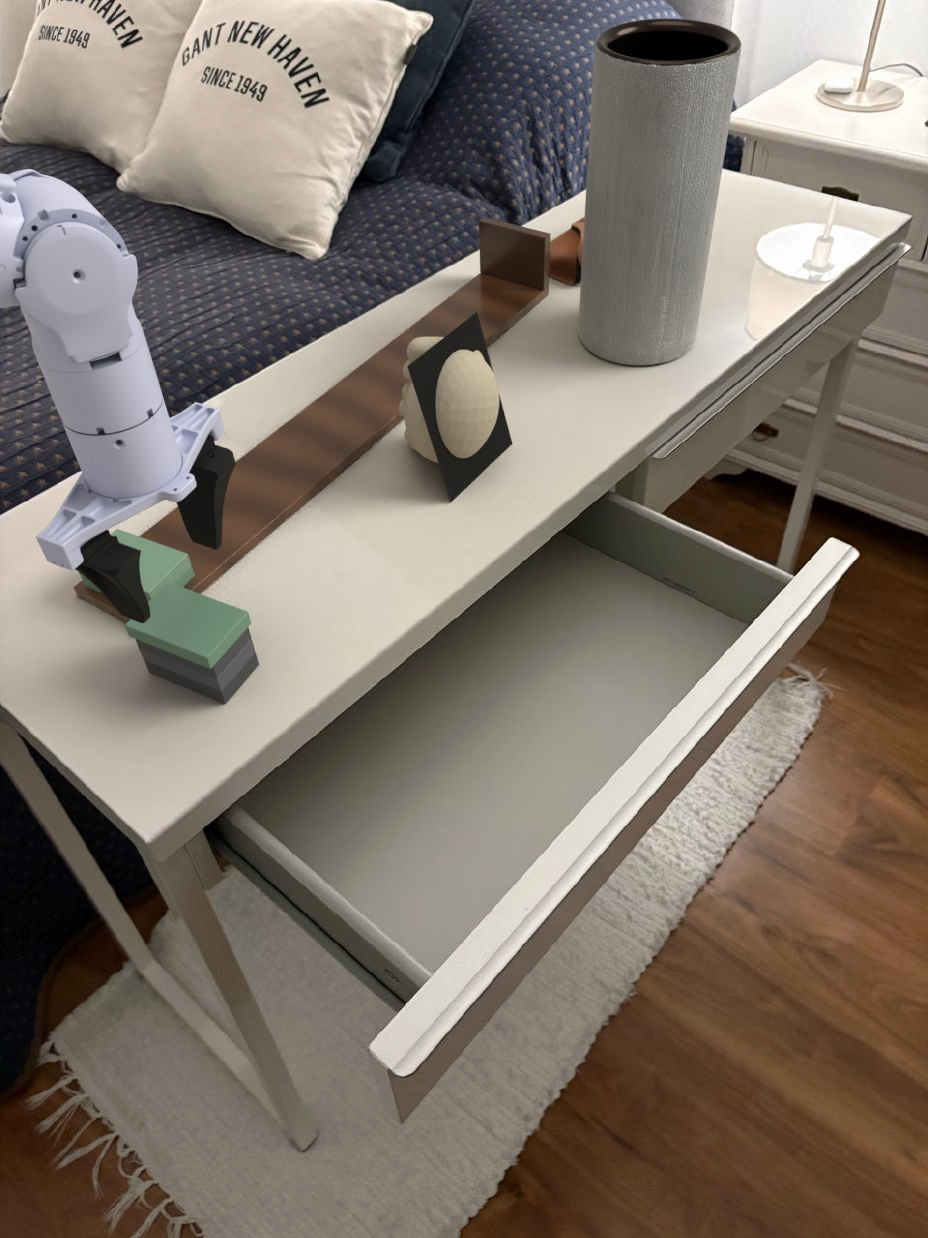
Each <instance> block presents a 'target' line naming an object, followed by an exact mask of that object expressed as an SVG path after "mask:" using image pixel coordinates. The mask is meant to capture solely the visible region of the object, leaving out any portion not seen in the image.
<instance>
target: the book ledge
mask: <svg viewBox="0 0 928 1238" xmlns="http://www.w3.org/2000/svg"><path fill="white" fill-rule="evenodd" d="M478 234H479V235H478V237H479V238H478V239H479V240H478V241H479V273H478V274H476V276H474V277H473V278H472V279H470V280H469V281H467V282H466V283H465V284H464V285H462V286H461V287H460V288H458V289H457V290H456V291H454V293H452V294H451V295H450V296H449V297H447V298H446V299H445V300H443V301H442V302H440V303H439V304H438V305H437V306H435V307H434V308H432V310H431V311H429V312H428V313H426V314H425V315H424V316H422V317H421V318H419V319H418V320H417V321H415V322H414V323H413V324H412V325H411V326H409V327H408V328H407V329H406V330H404V331H403V332H402V333H400V334H399V335H398V336H396V337H395V338H394V339H393V340H391V341H389V343H388V344H386V345H384V347H382V348H381V349H379V350H378V351H377V352H375V353H374V354H373V355H372V356H371V357H369V358H368V359H367V360H365V361H364V362H363V363H361V364H360V365H359V366H358V367H356V368H355V369H354V370H352V371H351V372H350V373H349V374H348V375H346V376H345V377H343V378H342V379H341V380H340V381H338V382H337V383H336V384H334V385H333V386H332V387H330V388H329V389H328V390H327V391H325V392H324V393H323V394H321V395H320V396H318V397H317V398H316V399H315V400H313V401H312V402H311V403H310V404H308V405H307V406H306V407H304V408H303V409H302V410H301V411H300V412H298V413H297V414H295V415H294V416H293V417H292V418H290V419H289V420H288V421H286V422H285V423H284V424H283V425H281V426H280V427H279V428H277V429H276V430H275V431H274V432H272V433H271V434H269V435H268V436H267V437H265V439H263V440H262V441H261V442H259V443H258V444H257V445H255V446H254V447H252V448H251V449H250V450H249V451H248V452H246V453H245V454H244V455H242V456H241V457H240V458H238V459H237V460H235V463H236V465H235V467H234V469H233V472H232V474H231V477H230V479H229V483H228V486H227V490H226V494H225V500H224V507H223V523H222V544H221V546H220V547H219V548H218V549H217V550H215V549H212V548H209V547H206V546H203V545H200V544H197V543H195V542H193V541H192V539H191V538H190V536H189V534H188V532H187V530H186V528H185V525H184V522H183V519H182V517H181V514H180V511H179V508H178V506H176V507H175V508H174V509H172V510H171V511H170V512H169V513H167V514H166V515H165V516H164V517H162V518H161V519H159V521H157V522H155V523H154V524H153V525H151V527H149V528H147V529H146V531H144V532H143V533H141V534H140V535H138V536H139V537H142V538H144V539H147V540H150V541H153V542H156V543H158V544H161V545H164V546H167V547H170V548H173V549H175V550H178V551H181V552H184V553H187V554H188V556H189V559H190V562H191V565H192V568H193V571H194V574H195V576H194V577H193V578H192V579H191V580H190V581H189V582H188V583H187V584H186V585H185V586H184V587H183V588H185V589H188V590H191V591H194V592H196V593H199V594H202V593H203V592H204V591H205V590H206V589H208V588H209V587H210V586H211V585H212V584H213V583H214V582H216V581H217V580H218V579H219V578H220V577H222V575H224V574H225V573H226V572H228V571H229V570H230V569H231V568H232V567H233V566H235V565H236V564H237V563H238V562H240V560H242V558H244V557H245V556H246V555H248V554H249V552H251V551H252V550H253V549H254V548H255V547H257V546H258V545H259V544H260V543H261V542H263V540H265V539H266V538H267V537H268V536H270V534H271V533H273V532H275V530H277V528H279V527H280V526H281V525H283V523H285V521H287V520H288V519H289V518H291V516H293V515H295V513H296V512H297V511H298V510H299V509H300V508H302V507H304V505H306V503H308V502H309V501H310V500H311V499H313V498H314V497H315V496H317V494H318V493H319V492H321V491H322V490H323V489H324V488H326V487H327V485H329V484H330V483H331V482H332V481H333V480H335V479H336V478H337V477H338V476H339V475H340V474H341V473H343V472H344V470H347V468H348V467H350V466H351V465H352V464H353V463H355V462H356V461H357V460H358V459H359V458H360V457H362V455H364V454H365V453H366V452H367V451H368V450H369V449H370V448H372V447H373V446H374V445H375V444H376V443H378V441H380V440H381V439H382V438H383V437H385V436H386V435H387V434H388V433H389V432H390V431H391V430H392V429H395V427H396V426H397V425H398V424H400V423H401V422H402V421H403V420H405V418H404V417H402V416H401V414H400V412H399V405H400V402H401V401H402V399H403V397H402V389H403V387H404V386H405V385H406V384H407V383H409V382H410V381H408V380H407V379H406V378H405V377H404V374H403V368H404V365H405V363H406V362H407V361H408V360H409V358H408V356H407V347H408V345H409V343H410V342H411V341H412V340H413V339H415V338H418V337H445V336H447V335H448V334H449V333H450V332H452V331H453V330H454V329H455V328H457V327H458V326H459V325H461V324H462V323H463V322H464V321H466V320H467V319H468V318H469V317H471V316H472V315H473V314H475V313H476V312H477V313H478V317H479V320H480V324H481V328H482V332H483V335H484V339H485V343H486V347H487V348H489V346H490V345H491V344H493V343H494V342H495V341H497V339H499V338H500V337H501V336H502V335H504V333H506V332H507V331H508V330H509V329H510V328H511V327H513V326H514V325H515V324H516V323H517V322H518V321H520V320H521V319H522V318H523V317H524V316H526V314H528V313H529V312H531V310H532V309H533V308H535V307H536V306H537V305H539V304H540V303H541V301H543V300H544V299H545V298H546V297H548V296H549V294H550V277H549V266H550V242H551V233H549V232H546V231H542V230H537V229H533V228H529V227H525V226H522V225H517V224H514V223H510V222H506V221H502V220H498V219H493V218H490V217H486V216H485V217H482V218H481V219H480V220H478ZM73 590H74V592H75V594H76V596H77V597H79V598H81V599H82V600H84V601H86V602H88V603H89V604H92V605H93V606H95V607H97V608H99V609H101V610H103V611H104V612H106V613H108V614H110V615H112V616H113V617H115V618H117V619H118V620H121V621H122V622H124V623H125V624H126V623H127V622H128V621H129V620H130V618H127V617H125V616H122V615H120V613H119V612H118V611H117V609H116V608H115V607H114V606H113V604H112V603H111V602H110V601H109V600H108V598H107V597H106V596H105V595H104V594H102V593H99V592H97V591H94V590H91V589H89V588H86V587H85V585H84V583H83V580H82V579H81V581H79V582H78V583H77V584H75V585H74V586H73Z"/></svg>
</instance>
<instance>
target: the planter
mask: <svg viewBox="0 0 928 1238" xmlns="http://www.w3.org/2000/svg"><path fill="white" fill-rule="evenodd" d="M593 48H594V49H593V50H594V51H593V65H592V67H593V68H592V82H591V83H592V84H591V99H590V117H589V118H590V119H589V133H588V134H589V135H588V151H587V152H588V153H587V168H586V169H587V170H586V186H585V200H584V201H585V202H584V217H585V218H584V235H583V252H582V269H581V281H580V286H579V287H580V288H579V304H578V337H579V340H580V342H581V344H582V345H583V347H585V348H586V350H588V351H589V352H590V353H592V354H593V355H595V356H597V357H599V358H601V359H603V360H606V361H608V362H612V363H617V364H621V365H626V366H627V365H628V366H653V365H658V364H664V363H668V362H671V361H674V360H676V359H678V358H680V357H682V356H683V355H685V354H686V353H687V352H688V351H689V350H690V349H691V348H692V347H693V346H694V343H695V340H696V335H697V331H698V327H699V321H700V313H701V308H702V302H703V295H704V289H705V282H706V276H707V275H706V274H707V268H708V263H709V257H710V256H709V255H710V250H711V243H712V237H713V230H714V226H715V225H714V224H715V219H716V218H715V217H716V212H717V206H718V198H719V192H720V186H721V180H722V172H723V168H724V161H725V155H726V149H727V141H728V136H729V129H730V124H731V123H730V122H731V117H732V112H733V111H732V109H733V103H734V98H735V97H734V96H735V93H736V92H735V91H736V86H737V85H736V84H737V78H738V71H739V64H740V59H741V52H742V42H741V39H740V38H739V36H738V35H737V34H736V33H735V32H733V31H732V30H730V29H728V28H726V27H723V26H721V25H719V24H715V23H711V22H707V21H702V20H694V19H686V18H648V19H638V20H633V21H628V22H623V23H620V24H619V23H618V24H617V25H614V26H612V27H609V28H607V29H605V30H603V31H602V32H601V33H600V34H599V35H598V36H597V38H596V39H595V41H594V47H593Z"/></svg>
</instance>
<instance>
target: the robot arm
mask: <svg viewBox="0 0 928 1238" xmlns="http://www.w3.org/2000/svg"><path fill="white" fill-rule="evenodd" d="M138 268H139V267H138V261H137V257H136V256H135V255H134V254H131V253H130V252H129V250H128V247H127V245H126V242H125V240H124V239H123V238H122V236H121V234H120V232H118V231H117V230H116V229H115V227H114V226H113V225H112V224H111V223H110V222H109V221H108V220H107V219H106V218H105V217H104V215H102V213H100V211H98V210H97V209H96V208H95V206H94V205H92V204H91V202H90V201H89V200H88V199H87V198H86V197H85V196H84V195H83V194H82V193H81V192H80V191H78V190H77V189H76V188H74V187H73V186H71V185H70V184H68V183H66V182H65V181H64V180H61V179H60V178H56V177H53V176H51V175H47V174H42V173H40V172H38V171H36V170H34V169H32V168H26V169H21V170H17V171H14V172H10V173H8V174H7V173H2V172H1V173H0V309H6V308H10V307H19V308H20V310H21V313H22V315H23V317H24V320H25V322H26V325H27V327H28V330H29V332H30V335H31V347H32V351H33V353H34V356H35V359H36V361H37V363H38V366H39V368H40V371H41V374H42V376H43V378H44V381H45V384H46V386H47V388H48V390H49V391H48V392H49V393H50V396H51V399H52V401H53V403H54V405H55V408H56V411H57V413H58V415H59V418H60V421H61V424H62V427H63V428H64V431H65V433H66V436H67V438H68V440H69V443H70V446H71V448H72V451H73V453H74V456H75V458H76V461H77V463H78V466H79V468H80V471H81V474H80V475H79V477H78V479H77V480H76V481H75V483H74V485H73V486H72V488H71V490H70V491H69V493H68V494H67V496H66V498H65V499H64V501H63V502H62V504H61V506H60V507H59V509H58V510H57V511H56V513H55V515H54V517H53V518H52V519H51V521H50V522H48V524H47V525H46V526H45V527H44V529H42V530H41V531H40V532H39V533H38V534H37V535H36V536H35V538H36V540H37V543H38V545H39V547H40V549H41V551H42V554H43V555H44V557H45V559H46V561H47V563H51V564H53V565H55V566H58V567H60V568H63V569H67V570H69V571H72V572H73V571H74V570H75V571H77V572H78V573H79V574H80V573H81V574H82V575H83V576H85V577H86V578H87V579H88V580H90V581H91V582H92V583H93V584H94V585H95V586H96V587H97V588H98V589H99V590H100V591H101V592H102V593H103V594H104V595H105V596H106V597H107V598H108V600H109V601H110V602H111V603H112V604H113V606H114V607H115V608H116V609H117V611H118V612H119V613H120V615H122V616H125V617H127V618H130V619H132V620H135V621H137V622H140V623H145V622H146V621H147V620H148V619H149V618H150V607H149V604H148V601H147V598H146V595H145V593H144V590H143V587H142V583H141V577H140V554H141V550H138V549H135V548H133V547H130V546H127V545H124V544H121V543H119V541H118V538H117V537H116V536H111V532H110V529H112V528H114V527H115V526H117V525H119V524H121V523H123V522H125V521H127V520H129V519H131V518H132V517H134V516H137V515H139V514H141V513H142V512H144V511H146V510H148V509H150V508H152V507H154V506H155V505H157V504H160V503H161V502H163V501H169V502H172V503H176V506H177V507H178V508H179V511H180V514H181V517H182V519H183V522H184V525H185V528H186V530H187V532H188V534H189V536H190V538H191V539H192V541H193V542H195V543H197V544H200V545H203V546H206V547H209V548H212V549H215V550H217V549H218V548H219V547H220V546H221V544H222V523H223V507H224V500H225V494H226V490H227V486H228V483H229V479H230V477H231V474H232V472H233V469H234V467H235V465H236V463H235V462H236V459H235V455H234V452H233V451H232V450H231V449H230V448H228V447H225V446H221V445H218V444H216V443H215V442H217V441H219V440H220V439H221V438H222V437H223V436H224V435H225V434H226V433H227V432H226V429H225V424H224V422H223V417H222V413H221V409H220V408H217V407H214V406H210V405H207V404H204V403H200V402H197V401H195V402H194V403H192V404H191V405H190V406H188V407H187V408H186V409H183V410H182V411H181V412H178V413H177V414H175V415H173V416H171V417H170V416H169V415H170V414H169V412H168V409H167V405H166V402H165V398H164V396H163V391H162V389H161V385H160V381H159V378H158V375H157V372H156V368H155V365H154V362H153V359H152V355H151V353H150V349H149V346H148V343H147V339H146V336H145V333H144V329H143V325H142V323H141V321H140V320H139V318H138V317H137V315H136V312H135V309H134V305H133V297H134V295H135V293H136V290H137V285H138V277H139V271H138V270H139V269H138Z"/></svg>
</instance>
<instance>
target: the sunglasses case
mask: <svg viewBox="0 0 928 1238" xmlns="http://www.w3.org/2000/svg"><path fill="white" fill-rule="evenodd" d="M584 218H585V216H583V217H582V218H580V219H578V220H576V221H575V222H573V223H572V224H571V226H570V228H569V229H567V230H566V231H564V232H563V233H562V234H559V235H558V236H556V237H555V238H553V239H552V240H550V266H549V279H553V280H556V281H557V282H561V283H563V284H566V285H568V286H571V287H572V286H576V285H578V284H580V283H581V269H582V252H583V235H584Z"/></svg>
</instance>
